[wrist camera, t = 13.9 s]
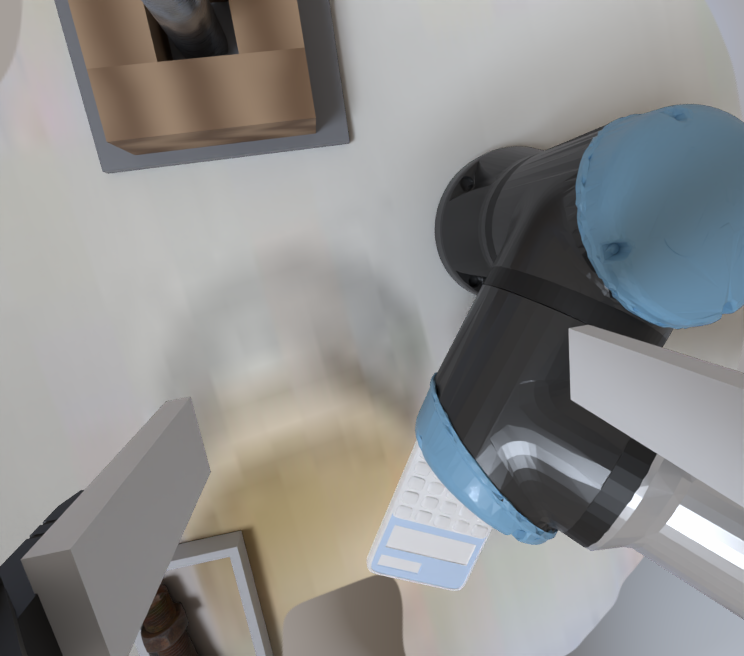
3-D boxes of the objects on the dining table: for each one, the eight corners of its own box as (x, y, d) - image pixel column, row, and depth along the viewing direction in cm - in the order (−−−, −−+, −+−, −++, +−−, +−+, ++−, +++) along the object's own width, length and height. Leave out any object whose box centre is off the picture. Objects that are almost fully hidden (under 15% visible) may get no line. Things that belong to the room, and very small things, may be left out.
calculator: (521, 448, 49) (529, 456, 47) (458, 583, 52) (463, 596, 50) (423, 418, 47) (427, 425, 45) (362, 562, 50) (364, 574, 48)
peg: (221, 14, 34) (171, -100, 22) (232, 67, 35) (190, -16, 23) (173, 19, 34) (96, -94, 22) (186, 72, 35) (119, -9, 23)
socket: (315, -82, 34) (316, -147, 29) (348, 143, 39) (354, 126, 33) (42, -64, 32) (-18, -130, 26) (108, 173, 36) (69, 160, 31)
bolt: (168, 565, 48) (213, 663, 51) (121, 595, 45) (172, 696, 48) (178, 592, 43) (227, 697, 46) (126, 627, 40) (181, 737, 43)
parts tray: (241, 530, 46) (237, 546, 43) (279, 678, 51) (277, 700, 48) (121, 556, 44) (110, 574, 42) (172, 705, 50) (165, 729, 47)
